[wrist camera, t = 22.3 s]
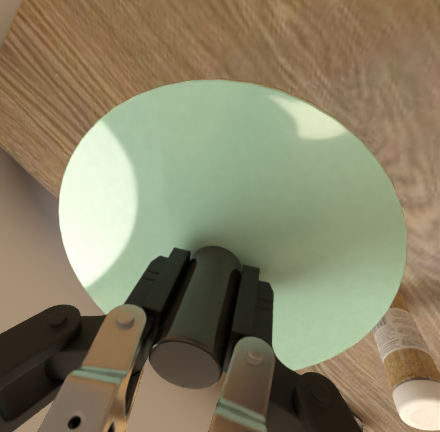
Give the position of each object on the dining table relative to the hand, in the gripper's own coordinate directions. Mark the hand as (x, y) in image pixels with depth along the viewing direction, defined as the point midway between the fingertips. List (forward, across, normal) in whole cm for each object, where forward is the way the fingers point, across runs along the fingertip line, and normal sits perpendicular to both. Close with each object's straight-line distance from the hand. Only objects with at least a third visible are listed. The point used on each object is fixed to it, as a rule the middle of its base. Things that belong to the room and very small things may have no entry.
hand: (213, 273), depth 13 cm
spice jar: (+20, -20, +15) cm, 32 cm away
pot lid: (+1, 0, 0) cm, 1 cm away
